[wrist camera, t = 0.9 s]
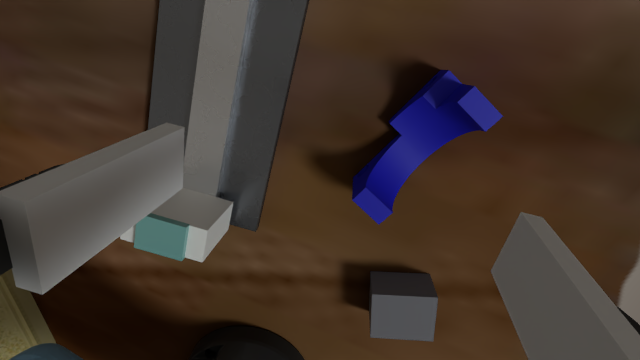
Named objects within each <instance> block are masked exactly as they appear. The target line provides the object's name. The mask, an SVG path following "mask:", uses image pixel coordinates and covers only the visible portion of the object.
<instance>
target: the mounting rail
mask: <svg viewBox="0 0 640 360" xmlns="http://www.w3.org/2000/svg"><path fill="white" fill-rule="evenodd" d="M308 4H309V0H160V3H159V14H158V25H157V35H156V46H155V57H154V68H153V79H152V90H151V101H150V112H149V123H148V130H150V129H152V128H154V127H157V126H159V125H162V124H164V123H170V124H174V125H178V126H182V127H185V129H184V166H183V188H186V189H189V190H193V191H197V192H200V193H204V194H207V195H211V196H214V197H218V198H221V199H225V200H228V201H232V202H233V207H232V213H231V218H230V223H229V224H231V225H234V226H238V227H241V228H245V229H248V230H252V231H255V232H256V230H257V229H258V227H259V222H260V218H261V213H262V209H263V204H264V200H265V195H266V191H267V187H268V182H269V178H270V173H271V169H272V164H273V160H274V155H275V151H276V146H277V142H278V138H279V133H280V129H281V124H282V120H283V115H284V111H285V106H286V102H287V97H288V93H289V88H290V84H291V80H292V75H293V71H294V66H295V62H296V57H297V53H298V48H299V44H300V39H301V35H302V30H303V26H304V22H305V17H306V13H307V8H308Z"/></svg>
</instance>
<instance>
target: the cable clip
mask: <svg viewBox="0 0 640 360" xmlns="http://www.w3.org/2000/svg"><path fill="white" fill-rule="evenodd" d="M502 117H503V116H502V115H501V114H500V113H499V112H498V111H497V110H496V109H495V107H494V106H493V105H492V104H491V103H490V102H489V101H488V100H487V99H486V98H485V97H484V96H483V95H482V94H481V93H480V91H479V90H478V89H477V88H476V87H475V86H470V85H465V84H462V83H461V82H460V81H459V80H458V79H457V78H456V77H455V76H454V75H453V74H452V73H451V72H450V71H449V70H440V71H439V72H438V73H437V74H436V75H435V76H434V77H433V78H432V79H431V80H430V81H429V82H428V83H427V84H426V85H425V86H424V87H423V88H422V89H421V90H420V91H419V92H418V93H417V94H416V95H415V96H414V97H412V98H411V99H410V100H409V101H408V102H407V103H406V104H405V105H404V106H403V107H402V108H401V109H400V110H399V111H398V112H397V113H396V114H395V115H394V116H393V117H392V118H391V119H390V120H389V123H390V124H391V125H392V126H393V127H394V128H395V129H396V130H397V131H398V132H399V134H398V135H397V136H396V137H395V138H394V139H393V140H392V141H391V142H390V143H389V144H388V145H387V146H386V147H385V148H384V149H382V150H381V151H380V152H379V153H378V154H377V155H376V156H375V157H374V158H373V159H372V160H371V161H370V162H369V163H368V164H367V165H366V166H365V167H364V168H363V169H362V170H361V171H359V172H358V173H357V174H356V175H355V176H354V177H353V195H352V200H353V201H354V202H355V203H356V204H357V205H358V206H359V207H360V208H362V209H363V210H364V211H365V212H366V213H367V214H368V215H369V216H370V217H371V218H372V219H373V220H374V221H376V222H377V223H378V224H380V223H381V222H382V221H384V220H385V219H386V218H387V217H388V216H389V215H390V214H392V213H393V212H392V207H393V202H394V199H395V197H396V195H397V193H398V191H399V189H400V188H401V186H402V185H403V183H404V182H405V181H406V179H407V178H408V177H409V176H410V174H411V173H412V172H413V171H414V170H415V169H416V168H417V167H418V166H419V165H420V164H421V163H422V162H423V161H424V160H425V159H426V158H427V157H428V156H429V155H431V154H432V153H433V152H434V151H436V150H437V149H438V148H440V147H441V146H443V145H444V144H446V143H447V142H449V141H450V140H452V139H454V138H456V137H458V136H460V135H462V134H465V133H467V132H471V131H476V130H481V131H485V132H486V131H487V130H488V129H489V128H490V127H491V126H493V125H494V124H495V123H496V122H497V121H498V120H499V119H501V118H502Z"/></svg>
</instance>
